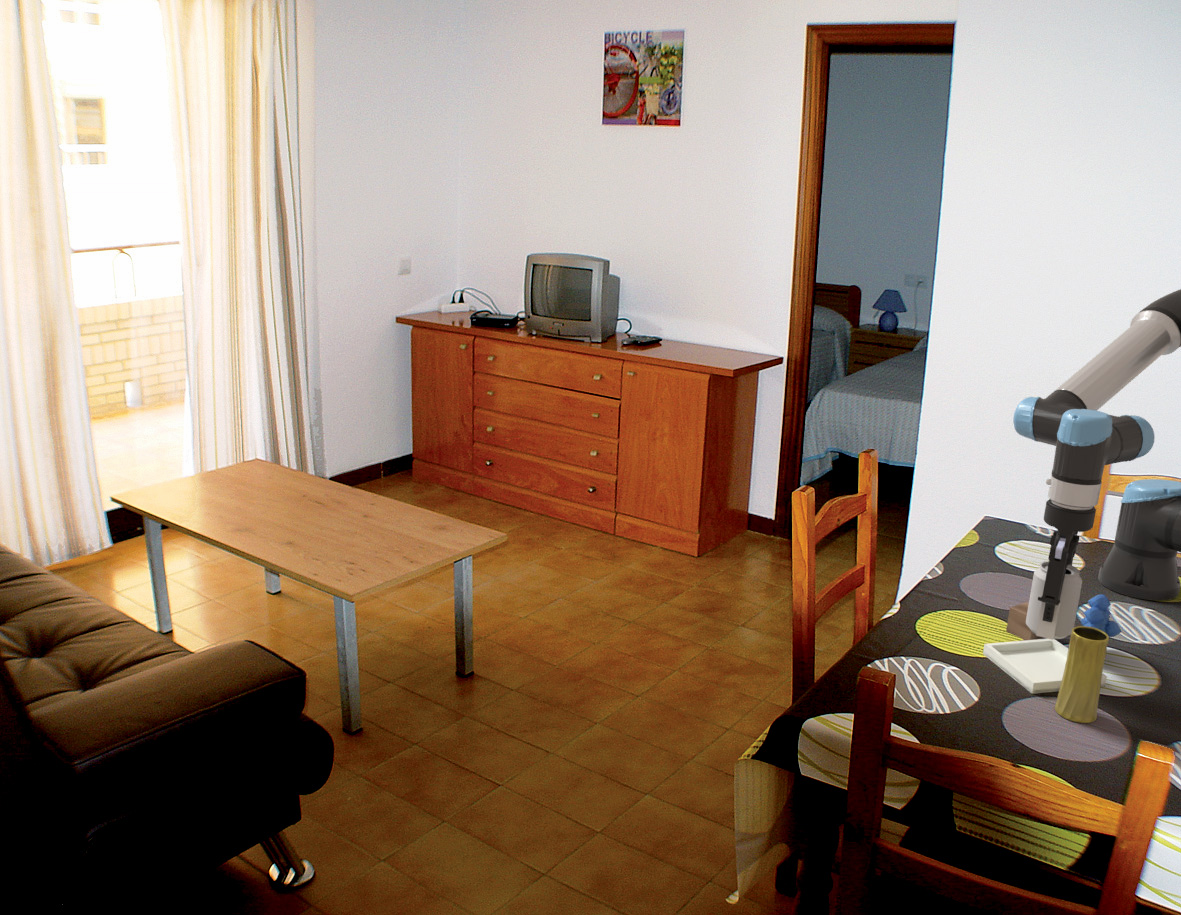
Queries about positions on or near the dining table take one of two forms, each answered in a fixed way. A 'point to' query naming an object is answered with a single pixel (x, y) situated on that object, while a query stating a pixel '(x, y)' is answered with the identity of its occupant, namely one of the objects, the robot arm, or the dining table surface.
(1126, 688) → the dining table surface
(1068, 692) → the vase
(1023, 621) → the walnut block
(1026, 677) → the tray
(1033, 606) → the can
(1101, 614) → the grapes
